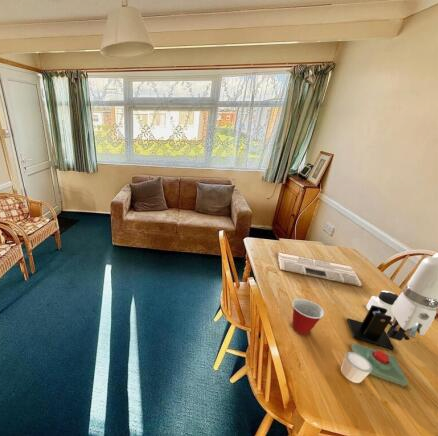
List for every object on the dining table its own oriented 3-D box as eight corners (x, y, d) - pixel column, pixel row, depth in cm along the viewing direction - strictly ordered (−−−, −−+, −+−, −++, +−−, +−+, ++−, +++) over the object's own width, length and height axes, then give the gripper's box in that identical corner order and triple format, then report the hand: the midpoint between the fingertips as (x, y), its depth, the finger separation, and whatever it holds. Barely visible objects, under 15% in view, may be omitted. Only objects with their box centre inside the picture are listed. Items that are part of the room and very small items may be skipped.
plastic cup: (300, 315, 102) (308, 295, 97) (321, 336, 92) (331, 315, 87) (279, 320, 100) (286, 299, 95) (299, 342, 90) (308, 320, 85)
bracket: (382, 330, 95) (396, 307, 90) (392, 350, 87) (409, 327, 81) (346, 319, 100) (357, 297, 94) (353, 338, 92) (366, 315, 86)
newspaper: (280, 270, 131) (281, 266, 130) (277, 253, 147) (278, 249, 146) (360, 287, 118) (362, 283, 117) (346, 266, 134) (348, 262, 133)
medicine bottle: (394, 323, 98) (407, 302, 93) (373, 318, 100) (385, 298, 95) (384, 310, 104) (396, 290, 99) (365, 307, 106) (376, 287, 101)
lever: (397, 328, 90) (404, 326, 89) (405, 341, 86) (412, 338, 84) (370, 308, 92) (376, 305, 91) (376, 319, 87) (382, 316, 86)
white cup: (367, 388, 75) (376, 375, 72) (342, 380, 77) (350, 367, 74) (358, 368, 81) (366, 355, 78) (335, 361, 83) (342, 349, 80)
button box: (391, 360, 84) (396, 352, 82) (404, 386, 75) (410, 379, 74) (350, 346, 88) (354, 339, 87) (359, 370, 80) (363, 363, 78)
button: (384, 356, 81) (386, 353, 80) (388, 365, 78) (391, 362, 77) (371, 352, 82) (373, 348, 82) (375, 360, 80) (377, 357, 79)
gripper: (455, 318, 61) (420, 361, 69) (425, 284, 74) (398, 324, 81) (417, 308, 64) (388, 351, 72) (394, 277, 77) (371, 317, 84)
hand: (393, 337), depth 77 cm, fingers closed
